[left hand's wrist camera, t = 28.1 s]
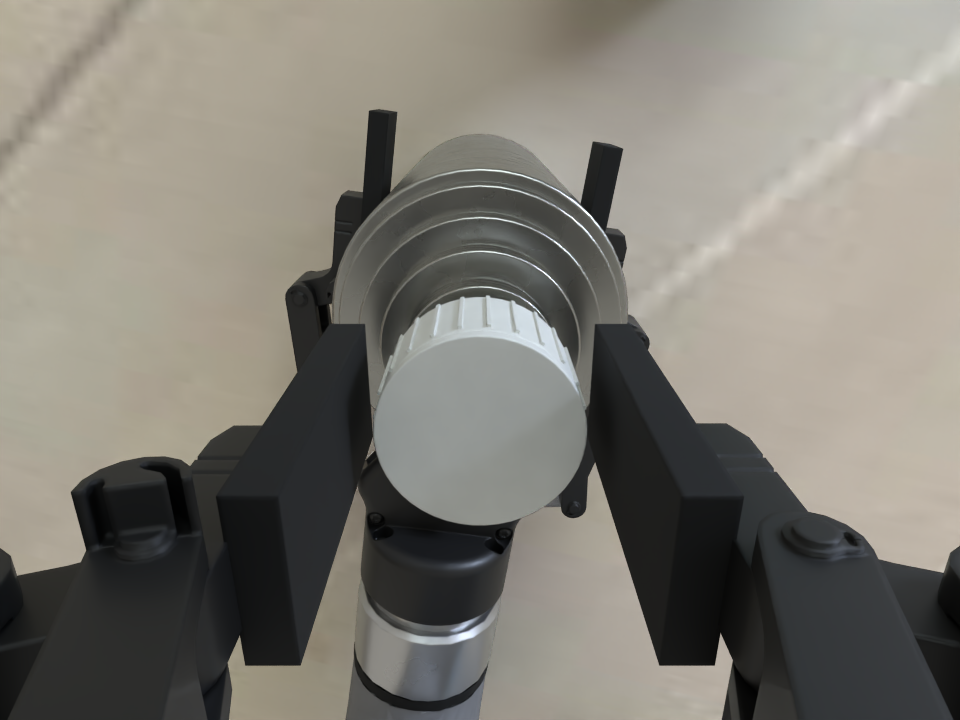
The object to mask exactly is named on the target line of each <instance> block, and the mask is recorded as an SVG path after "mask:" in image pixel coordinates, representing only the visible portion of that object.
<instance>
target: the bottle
mask: <svg viewBox="0 0 960 720" xmlns="http://www.w3.org/2000/svg"><path fill="white" fill-rule="evenodd" d="M486 295H487V296H490V298H496V299H502V300H505V301H509V302H511V300H512V301H515V304H517V305H520V306H522V307H524V308H526V309H528V310H529V311H531V312H534V311H535V312H537V314H538V317H540V318H541V319H542V320H543V321H544V322H545V323H546V324H547V325H548V326H549V327H550V328H552V327H554V329H555V330H556V333H557V336H558V338H559V340H560V342H561V344H562V345H563V347H567V349H568V352H569V355H570V358H571V361H572V364H573V366H574V369H575V372H576V375H577V378H578V381H579V384H580V385H579V387H580V390H581V393H582V396H583V399H584V401H585V404H586V408H587V407H588V405H589V403H590V388H591V374H592V359H593V344H594V330H595V324H627V321H628V298H627V290H626V282H625V279H624V275H623V271H622V267H621V264H620V262H619V259H618V257H617V255H616V252H615V250H614V248H613V246H612V244H611V242H610V241H609V239H608V237H607V236H606V234H605V232H604V231H603V229H602V228H601V227H600V226H599V224H598V223H597V222H596V221H595V220H594V218H593V217H592V216H591V215H590V214H589V213H588V211H587V210H586V209H585V208H584V207H583V206H582V205H581V204H580V203H579V202H578V201H577V200H576V199H575V198H574V196H573V195H572V194H571V193H570V192H569V191H568V190H567V189H566V188H565V187H564V186H563V185H562V184H561V183H560V182H559V180H558V179H557V178H556V177H555V176H554V175H553V174H552V173H551V172H550V171H549V170H548V169H547V168H546V167H545V165H544V164H543V163H542V162H541V161H540V160H539V159H538V158H537V157H536V156H535V155H533V154H532V153H531V152H530V151H529V150H527V149H526V148H524V147H523V146H521V145H519V144H517V143H515V142H514V141H511V140H508V139H506V138H503V137H499V136H494V135H485V134H475V135H466V136H461V137H457V138H454V139H452V140H449V141H446V142H445V143H443V144H441V145H439V146H437V147H436V148H434V149H433V150H431V151H430V152H429V153H428V154H427V155H425V156H424V157H423V158H422V159H421V160H420V161H419V162H418V163H417V164H416V166H415V167H414V168H413V169H412V170H411V171H410V172H409V173H408V174H407V175H406V176H405V177H404V178H403V179H402V181H401V182H400V183H399V184H398V185H397V186H396V187H395V188H394V189H393V190H392V191H391V192H390V193H389V194H388V196H387V197H386V198H385V199H384V200H383V201H382V202H381V203H380V204H379V205H378V206H377V207H376V208H375V209H374V211H373V212H372V213H371V214H370V215H369V216H368V217H367V218H366V220H365V221H364V222H363V223H362V225H361V226H360V227H359V228H358V230H357V231H356V233H355V234H354V236H353V238H352V239H351V241H350V243H349V244H348V246H347V248H346V250H345V253H344V255H343V257H342V260H341V262H340V265H339V268H338V272H337V275H336V279H335V283H334V291H333V299H332V320H333V324H365V330H366V345H367V359H368V374H369V388H370V403H371V405H372V406H373V408H374V409H376V406H377V403H378V400H379V397H380V395H377V392H378V389H379V386H380V384H381V381H382V378H383V375H384V372H385V369H386V366H387V363H388V360H389V358H390V355H392V356H393V355H394V352H395V349H396V346H397V343H398V340H399V337H400V335H401V334H402V335H404V334H405V333H406V332H407V330H408V329H409V328H410V327H411V326H412V325H413V324H414V321H415V319H416V318H417V317H419V318H421V317H422V316H423V315H425V314H426V313H427V312H429V311H431V310H433V309H434V308H436V305H438V304H440V305H443V304H445V303H448V302H451V301H455V300H459V299H460V297H464V298H472V297H486Z"/></svg>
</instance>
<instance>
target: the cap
mask: <svg viewBox="0 0 960 720" xmlns="http://www.w3.org/2000/svg"><path fill="white" fill-rule="evenodd" d="M579 385H580V384H579V381H578V378H577V375H576V372H575V369H574V366H573V364H572V361H571V358H570V355H569V352H568V349H567V347H563V345H562V344H561V342H560V340H559V338H558V336H557V333H556V330H555V329H554V327H552V328H550V327H549V326H548V325H547V324H546V323H545V322H544V321H543V320H542V319H541V318H540V317H538V314H537V312H535V311H534V312H531V311H529V310H528V309H526V308H524V307H522V306H520V305H517V304H515V301H512V300H511V302H509V301H505V300H502V299H496V298H490V296H487V295H486V297H472V298H464V297H460V299H459V300H455V301H451V302H448V303H445V304H443V305H440V304H438V305H436V308H434V309H433V310H431V311H429V312H427V313H426V314H425V315H423V316H422V317H421V318H419V317H417V318H416V319H415V321H414V324H413V325H412V326H411V327H410V328H409V329H408V330H407V332H406V333H405V334H404V335H402V334H401V335H400V337H399V340H398V343H397V346H396V349H395V352H394V355H393V356H392V355H390V358H389V360H388V363H387V366H386V369H385V372H384V375H383V378H382V381H381V384H380V386H379V389H378V392H377V395H380V397H379V400H378V403H377V406H376V409H375V412H374V415H373V419H374V422H373V439H374V445H375V450H376V454H377V457H378V460H379V463H380V465H381V467H382V469H383V471H384V473H385V475H386V476H387V478H388V479H389V481H390V482H391V483H392V485H393V486H394V487H395V488H396V489H397V491H398V492H399V493H400V494H401V495H402V496H403V497H405V498H406V499H407V500H408V501H409V502H410V503H412V504H413V505H415V506H416V507H418V508H419V509H421V510H422V511H424V512H426V513H428V514H430V515H433V516H435V517H438V518H440V519H443V520H446V521H450V522H454V523H458V524H466V525H495V524H501V523H506V522H511V521H514V520H517V519H520V518H523V517H525V516H528V515H530V514H532V513H534V512H536V511H538V510H539V509H541V508H542V507H544V506H546V505H547V504H548V503H550V502H551V501H552V500H553V499H555V498H556V497H557V496H558V495H559V494H560V493H561V492H562V491H563V490H564V489H565V488H566V486H567V485H568V484H569V482H570V481H571V480H572V478H573V477H574V475H575V473H576V471H577V469H578V468H579V466H580V463H581V460H582V458H583V455H584V451H585V447H586V441H587V418H586V414H585V410H586V404H585V401H584V399H583V396H582V393H581V390H580V387H579Z"/></svg>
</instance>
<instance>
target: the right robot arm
mask: <svg viewBox="0 0 960 720" xmlns="http://www.w3.org/2000/svg"><path fill="white" fill-rule="evenodd" d="M396 120H397V112H394V111H387V110H380V109H378V110H370V111H369V119H368V132H367V146H366V159H365V173H364V186H363V193H362V192H355V191H346V192H345V193H344V194H342V195H341V197H340V199H339V201H338V203H337V205H336V213H335V232H334V246H333V263H332V267H331V268H330V269H327V270H322V271H318V272H316V271H309V272H306V273H304V274H303V275H302V276H301V277H300V278H299V279H298V280H297V281H296V282H295V283H294V284H293V285H292V286H291V287H290V288H289V289H288V290H287V292H286V298H285V300H286V306H287V312H288V318H289V324H290V330H291V336H292V342H293V348H294V354H295V360H296V366H297V372H298V371H299V370H300V368H301V367H302V365H303V363H304V362H305V360H306V359H307V357H308V356H309V354H310V353H311V351H312V350H313V348H314V347H315V345H316V344H317V342H318V341H319V339H320V338H321V336H322V335H323V333H324V332H325V330H326V329H327V327H328V326H329V324H332V322H331V315H330V307H329V304H331V303H332V299H333V291H334V283H335V279H336V275H337V272H338V268H339V265H340V262H341V260H342V257H343V255H344V253H345V250H346V248H347V246H348V244H349V243H350V241H351V239H352V238H353V236H354V234H355V233H356V231H357V230H358V228H359V227H360V226H361V225H362V223H363V222H364V221H365V220H366V218H367V217H368V216H369V215H370V214H371V213H372V212H373V211H374V209H375V208H376V207H377V206H378V205H379V204H380V203H381V202H382V201H383V200H384V199H385V198H386V197H387V196H388V194H389V193H390V188H391V177H392V165H393V154H394V143H395V132H396ZM622 152H623V149H622V148H620V147H617V146H614V145H611V144H606V143H600V142H593V143H592V148H591V154H590V159H589V164H588V169H587V174H586V179H585V184H584V189H583V194H582V200H581V205H582V206H583V207H584V208H585V209H586V210H587V211H588V213H589V214H590V215H591V216H592V217H593V218H594V220H595V221H596V222H597V223H598V224H599V226H600V227H601V228H602V229H603V231H604V232H605V234H606V236H607V237H608V239H609V241H610V242H611V244H612V246H613V248H614V250H615V252H616V255H617V257H618V259H619V262H620V264H621V267H623V261H624V258H625V254H626V249H627V247H626V241H625V236H624V235H623V234H622V233H621V232H620V231H619V230H618V229H612V228H606V227H607V222H608V218H609V213H610V208H611V204H612V199H613V194H614V189H615V185H616V180H617V175H618V171H619V166H620V161H621V157H622ZM627 324H631V326H632V327H633V329H634V330H635V332H636V333H637V335H638V336H639V338H640V339H641V341H642V342H643V344H644V345H645V347H646V348H647V350H648V348H649V344H650V343H649V338H648V337H647V335H646V334H645V332H644V331H643V329H642V328H641V327H640V325H639V324H638V322H637V321H636V320H635V318H634V317H633V316H631V315H628V321H627ZM585 414H586V418H587V432H588V418H589V405H588V407H587V408H586V410H585ZM594 463H595V459H594V456H593V453H592V450H591V447H590V444H589V440H588V437H587V441H586V447H585V451H584V455H583V458H582V460H581V463H580V466H579V468H578V469H577V471H576V473H575V475H574V477H573V478H572V480H571V481H570V482H569V484H568V485H567V486H566V488H565V489H564V490H563V491H562V492H561V493H560V494H559V495H558V496H557V497H556V498H555V499H553V500H552V501H551V502H550V503H548V504H547V505H546V506H544V507H561V509H562V513H563V514H564V515H565V516H567V517H569V518H577V517H579V516H581V515H583V513H584V512H585V510H586V502H587V483H588V476H589V474H590V472H591V469H592V467H593V465H594ZM357 486H358V490H359V493H360V495H361V496H362V498H363V500H364V503H365V506H366V518H365V529H364V540H363V551H362V562H361V577H362V578H361V582H360V585H359V592H358V604H357V617H356V629H355V643H354V662H353V669H352V677H351V685H350V693H349V701H348V708H347V714H346V720H479V713H480V706H481V699H482V693H483V686H484V680H485V674H486V671H487V667H488V662H489V658H490V655H491V650H492V645H493V640H494V635H495V630H496V625H497V620H498V615H499V609H500V601H501V594H502V591H503V587H504V582H505V577H506V572H507V567H508V562H509V556H510V551H511V546H512V541H513V536H514V531H515V528H516V525H517V523H518V522H519V520H520V519H521V518H520V519H517V520H514V521H511V522H506V523H501V524H495V525H466V524H458V523H454V522H450V521H446V520H443V519H440V518H438V517H435V516H433V515H430V514H428V513H426V512H424V511H422V510H421V509H419V508H418V507H416V506H415V505H413V504H412V503H410V502H409V501H408V500H407V499H406V498H405V497H403V496H402V495H401V494H400V493H399V492H398V491H397V489H396V488H395V487H394V486H393V485H392V483H391V482H390V481H389V479H388V478H387V476H386V475H385V473H384V471H383V469H382V467H381V465H380V463H379V460H378V457H377V454H376V451H375V452H374V453H373V454H371V455H370V456H369V457H368V458H367V459H366V460H365V463H364V466H363V469H362V472H361V475H360V478H359V482H358V485H357Z"/></svg>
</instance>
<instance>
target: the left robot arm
mask: <svg viewBox="0 0 960 720" xmlns="http://www.w3.org/2000/svg"><path fill="white" fill-rule="evenodd" d="M372 437H373V432H372V418H371V403H370V388H369V374H368V359H367V345H366V330H365V324H329V326H328V327H327V329H326V330H325V332H324V333H323V335H322V336H321V338H320V339H319V341H318V342H317V344H316V345H315V347H314V348H313V350H312V351H311V353H310V354H309V356H308V357H307V359H306V360H305V362H304V363H303V365H302V367H301V368H300V370H299V371H298V373H297V374H296V376H295V377H294V379H293V380H292V382H291V383H290V385H289V386H288V388H287V389H286V391H285V392H284V394H283V395H282V397H281V398H280V400H279V401H278V403H277V404H276V406H275V407H274V409H273V410H272V412H271V413H270V415H269V416H268V418H267V419H266V421H265V422H264V424H263V426H233V427H231V428H229V429H228V430H226V431H224V432H223V433H221V434H220V435H218V436H216V437H215V438H213V439H212V440H210V442H209V443H208V444H207V446H206V447H205V448H204V449H203V451H202V452H201V453H200V454H199V456H198V460H195V461H194V462H193V463H192V465H191V466H189V465H187V464H186V463H185V462H183V461H182V460H179V459H174V458H169V457H142V458H137V459H132V460H127V461H122V462H119V463H116V464H114V465H111V466H108V467H106V468H103V469H100V470H98V471H97V472H95V473H93V474H92V475H90V476H88V477H87V478H85V479H83V480H82V481H81V482H80V483H79V484H78V485H77V486H76V487H75V488H74V489H73V490H72V491H71V495H72V499H73V502H74V506H75V510H76V513H77V517H78V521H79V525H80V528H81V532H82V536H83V539H84V543H85V547H86V552H85V555H84V557H83V559H82V561H81V562H80V563H77V564H73V565H69V566H64V567H59V568H54V569H49V570H44V571H39V572H34V573H29V574H24V575H19V576H17V574H16V571H15V568H14V565H13V562H12V559H11V556H10V555H9V554H7V553H6V552H5V551H3V550H2V549H1V548H0V720H229V713H230V704H231V695H232V686H231V679H230V674H229V668H228V660H229V658H230V656H231V654H232V651H233V649H234V647H235V645H236V642H237V640H238V638H239V636H240V638H241V644H242V649H243V655H244V661H245V666H301V662H302V659H303V656H304V653H305V650H306V647H307V643H308V640H309V637H310V634H311V631H312V627H313V624H314V621H315V618H316V615H317V612H318V608H319V605H320V602H321V599H322V596H323V593H324V589H325V586H326V583H327V580H328V577H329V574H330V570H331V567H332V564H333V561H334V558H335V555H336V551H337V548H338V545H339V542H340V539H341V536H342V532H343V529H344V526H345V523H346V520H347V517H348V513H349V510H350V507H351V504H352V501H353V498H354V494H355V491H356V488H357V485H358V482H359V478H360V475H361V472H362V469H363V466H364V463H365V459H366V456H367V453H368V450H369V447H370V444H371V440H372ZM587 437H588V440H589V444H590V447H591V450H592V453H593V456H594V459H595V463H596V466H597V469H598V472H599V475H600V479H601V482H602V485H603V488H604V491H605V494H606V498H607V501H608V504H609V507H610V510H611V513H612V517H613V520H614V523H615V526H616V529H617V532H618V536H619V539H620V542H621V545H622V548H623V551H624V555H625V558H626V561H627V564H628V567H629V570H630V574H631V577H632V580H633V583H634V586H635V589H636V593H637V596H638V599H639V602H640V605H641V608H642V612H643V615H644V618H645V621H646V624H647V628H648V631H649V634H650V637H651V640H652V643H653V647H654V650H655V653H656V656H657V659H658V662H659V666H715V661H716V655H717V649H718V644H719V638H720V632H721V635H722V637H723V639H724V641H725V644H726V646H727V648H728V650H729V653H730V655H731V657H732V659H733V663H732V668H731V674H730V679H729V684H728V690H727V695H726V700H725V706H724V711H723V716H722V720H960V546H959V547H958V548H956V549H955V550H954V551H952V552H951V553H950V555H949V559H948V562H947V565H946V568H945V571H944V573H941V572H936V571H931V570H926V569H921V568H916V567H911V566H906V565H900V564H895V563H891V562H887V561H883V560H879V559H878V558H877V556H876V553H875V551H874V549H873V548H872V547H871V546H870V544H869V543H868V542H867V540H866V539H865V538H864V537H863V536H862V535H861V534H859V533H858V532H856V531H855V530H853V529H852V528H850V527H849V526H848V525H846V524H844V523H841V522H839V521H837V520H834V519H832V518H830V517H827V516H824V515H820V514H815V513H811V512H808V511H807V510H806V509H805V507H804V506H803V505H802V504H801V502H800V501H799V500H798V499H797V497H796V496H795V495H794V493H793V492H792V491H791V490H790V488H789V487H788V486H787V485H786V483H785V482H784V481H783V480H782V478H781V477H780V476H779V474H778V473H777V472H774V468H773V467H772V466H771V464H770V463H769V462H768V461H767V459H766V458H763V454H762V453H761V452H760V450H759V449H758V448H757V447H756V445H755V444H754V443H753V442H752V440H751V439H750V438H749V437H747V436H746V435H744V434H743V433H741V432H739V431H738V430H736V429H734V428H733V427H731V426H730V425H728V424H696V423H695V421H694V419H693V418H692V416H691V415H690V413H689V412H688V410H687V409H686V407H685V406H684V404H683V403H682V401H681V400H680V398H679V397H678V395H677V394H676V392H675V391H674V389H673V388H672V386H671V385H670V383H669V382H668V380H667V379H666V377H665V376H664V374H663V373H662V371H661V370H660V368H659V367H658V365H657V364H656V362H655V360H654V359H653V357H652V356H651V354H650V353H649V351H648V350H647V348H646V347H645V345H644V344H643V342H642V341H641V339H640V338H639V336H638V335H637V333H636V332H635V330H634V329H633V327H632V326H631V324H595V330H594V344H593V359H592V374H591V388H590V403H589V418H588V432H587Z"/></svg>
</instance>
